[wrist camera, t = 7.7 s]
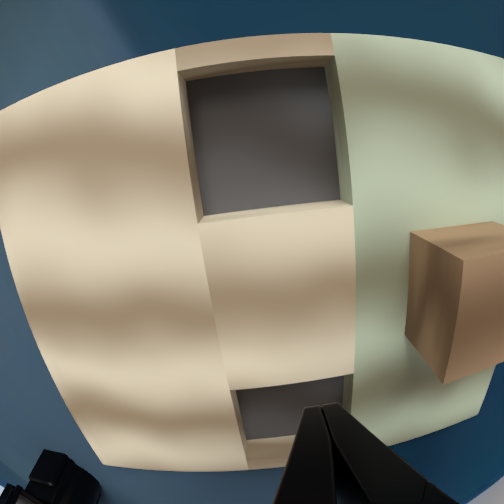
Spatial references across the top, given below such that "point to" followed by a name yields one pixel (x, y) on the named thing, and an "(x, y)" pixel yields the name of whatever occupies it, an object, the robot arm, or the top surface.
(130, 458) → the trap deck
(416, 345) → the walnut block
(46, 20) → the top surface
